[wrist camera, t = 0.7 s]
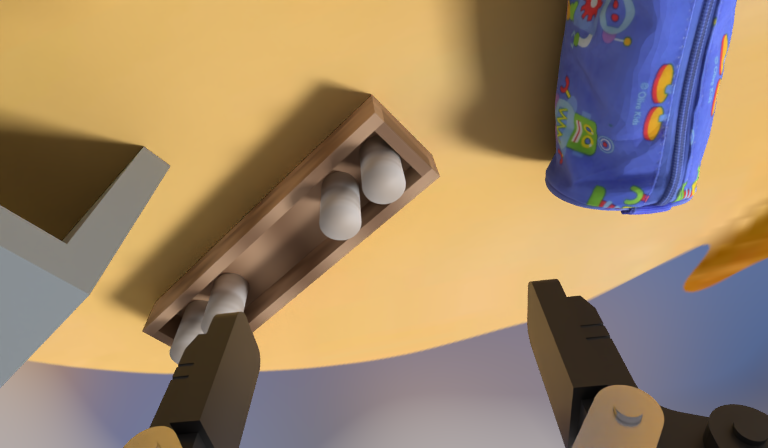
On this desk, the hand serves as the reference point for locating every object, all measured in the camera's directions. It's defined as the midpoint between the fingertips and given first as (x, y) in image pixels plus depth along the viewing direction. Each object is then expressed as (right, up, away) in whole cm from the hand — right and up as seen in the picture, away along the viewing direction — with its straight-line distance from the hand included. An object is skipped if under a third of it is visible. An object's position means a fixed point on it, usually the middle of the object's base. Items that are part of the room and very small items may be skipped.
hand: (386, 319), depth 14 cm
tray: (-7, +2, +23) cm, 24 cm away
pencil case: (+13, +16, +16) cm, 26 cm away
